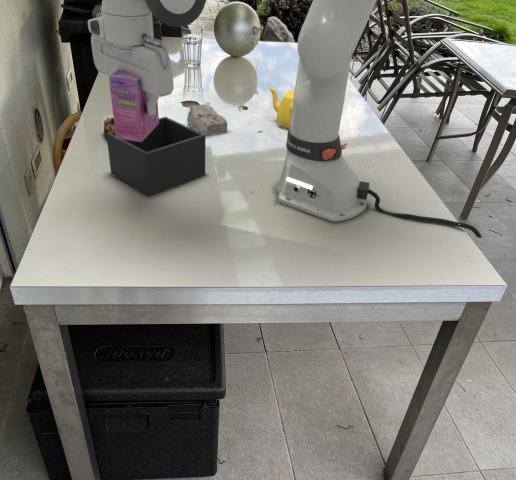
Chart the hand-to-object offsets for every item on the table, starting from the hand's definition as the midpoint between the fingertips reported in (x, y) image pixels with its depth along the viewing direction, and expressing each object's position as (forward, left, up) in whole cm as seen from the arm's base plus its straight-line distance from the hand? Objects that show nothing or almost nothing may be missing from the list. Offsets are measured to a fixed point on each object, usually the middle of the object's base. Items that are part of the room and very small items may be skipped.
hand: (136, 107), depth 107 cm
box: (0, 0, -5) cm, 5 cm away
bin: (+9, -11, -21) cm, 25 cm away
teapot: (+10, -64, -21) cm, 68 cm away
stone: (+24, -41, -21) cm, 52 cm away
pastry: (+32, -19, -21) cm, 42 cm away
